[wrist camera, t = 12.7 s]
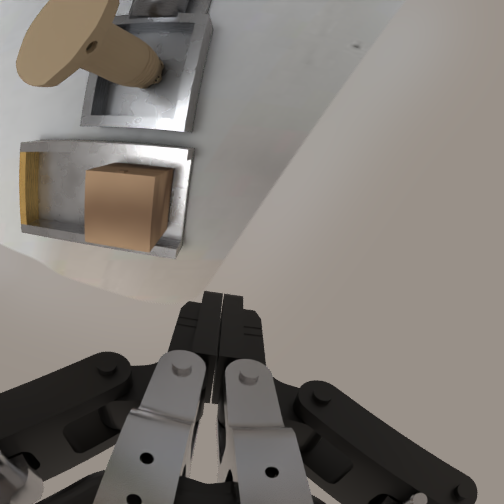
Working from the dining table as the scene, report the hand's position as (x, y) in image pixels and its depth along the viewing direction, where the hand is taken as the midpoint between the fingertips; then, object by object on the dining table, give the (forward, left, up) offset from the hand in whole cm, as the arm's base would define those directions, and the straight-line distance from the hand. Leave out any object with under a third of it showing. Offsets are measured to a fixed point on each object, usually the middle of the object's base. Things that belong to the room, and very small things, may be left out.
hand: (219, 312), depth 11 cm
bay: (0, -14, -18) cm, 23 cm away
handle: (-12, -10, -17) cm, 23 cm away
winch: (-15, -10, -18) cm, 26 cm away
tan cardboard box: (0, -9, -17) cm, 19 cm away
